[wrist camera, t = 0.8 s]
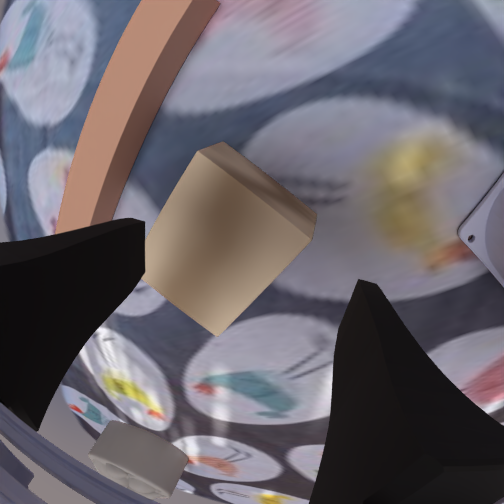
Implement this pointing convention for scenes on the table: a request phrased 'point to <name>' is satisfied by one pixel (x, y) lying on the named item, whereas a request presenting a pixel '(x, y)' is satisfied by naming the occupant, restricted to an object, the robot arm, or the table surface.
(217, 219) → the beech block
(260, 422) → the table surface
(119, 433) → the lumpy-topped squat cylinder
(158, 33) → the terracotta batten
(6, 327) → the robot arm
